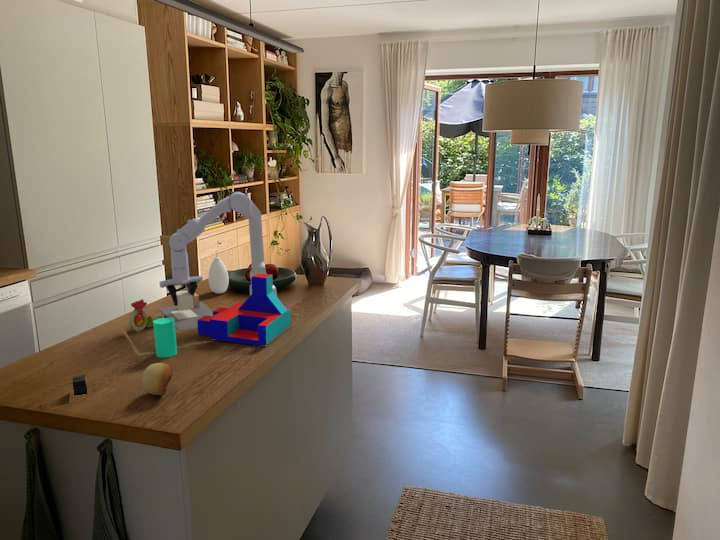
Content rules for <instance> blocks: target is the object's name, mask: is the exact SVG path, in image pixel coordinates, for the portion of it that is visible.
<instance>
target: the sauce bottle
mask: <svg viewBox="0 0 720 540" xmlns="http://www.w3.org/2000/svg"><path fill="white" fill-rule="evenodd" d="M207 276H208V278H207V279H208V285H209V287H210V290H211V291H212V292H213V293H215V294H224V293H225V292H227V289H228V287H229V282H230V281H229V279H230V278H229V272H228V270H227V267H226V265H225V263H224V262H223V260H221V257H219V256H218V251H216V252H215V257H214V258H213V260H212V262H211V264H210V266H209V269H208V275H207Z"/></svg>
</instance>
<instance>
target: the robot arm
mask: <svg viewBox="0 0 720 540" xmlns="http://www.w3.org/2000/svg"><path fill="white" fill-rule="evenodd" d="M232 210H233V211H234V212H237V213H239V214H241V215H243V216H244V217H245V218H247V220H248V230H249V232H248V233H249V244H250V247H249V248H250V259H251V261H250V262H251V269H250V271H249V277H250V282H251V283H250V285H249V296H250V295H251V294H252V276H254V275H255V274H257V273H261V274H268V273H267V271H266V264H265V255H264V252H265V251H264V237H263V225H262V224H263V221H262V212H261V210H260V209H259V208H258V207H257V205H256V204H255V203H254V202H253V201H252V200H251V198H250V197H249V196H248V195H246V194H245V193H243V192H242V191H234V192H232V193H231V194H230V195H227V196H226V197H225V198H223V199H221V200H219V201H218V202H217V203H216V204H215V205H214V206H212V207H211V208H210V209H209V210H208V211H206V212H205V214H203V215H202V216H201V217H200V218H192V219H188V220H187V221H186V224H185V225H183V226H182V227H181V228H178V229H176V232H175V233H172V235H170V237H169V241H168V245H169V247H170V263H171V265H170V266H171V274H172V278H169V279H165V280H162V281H161V280H160V281H159V287H160V288H161V289H163V288H166V289H167V291H168V292H169V294H170V297H171V298H172V303H173V302H174V303H173V306H177V298H176V292H177V288H176V286H180V285H187V292H189V293H190V294H191V295H192V296H193V297H194V293H196V290H197V289H198V283H203V282H204V281H203V276H201V275H198V276H190V266H189V256H188V252H187V251H188V250H187V245H188V244H189V243H192V241H194V240H195V239H196V238H198V237H199V236H200V235H202V234H203V233H204V232H205V229H206V226H207V225H208V224H209V223H211V222H212V221H214V220H215V219H216V218H217V217H220V215H222V214H224V213H231V212H232ZM273 292H274V294H275V295H276V296H277V297H278V292H277V288H276V286H275V285H274V284H273Z"/></svg>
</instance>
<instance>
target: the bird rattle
mask: <svg viewBox="0 0 720 540" xmlns="http://www.w3.org/2000/svg"><path fill="white" fill-rule="evenodd" d="M147 305H148V303H147V302H145V301H144V299H140V300H136V301H134V302H132V303H131V304H130V306H131V308H133V311H132V312H130V314H129V317H128V325H129V327H130V328H131V329H132V330H133V331H134V332H141V331H142V330H144V329H145V328H146V327H147V328H149V327H150V328H151V327H153V321H154V319H153V316H152V315H149V316H147V313H146V312H145V311H144V310H143V309H144V308H145V307H147Z"/></svg>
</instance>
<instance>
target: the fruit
mask: <svg viewBox="0 0 720 540" xmlns="http://www.w3.org/2000/svg"><path fill="white" fill-rule="evenodd" d="M173 376H174V369H173V368H172V366H171V365H169V364H167V363H164V362H155V363H151V364H149V365H148V366H147V367H146V368H145V370H144V371H143V373H142V375H141V384H142V386H143V388H144V390H145V391H146V392H147V393H148V394H150V395H154V396H163V395H165V393H166V392H167V387H168V384H169V382H171V379H172V378H173Z"/></svg>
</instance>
